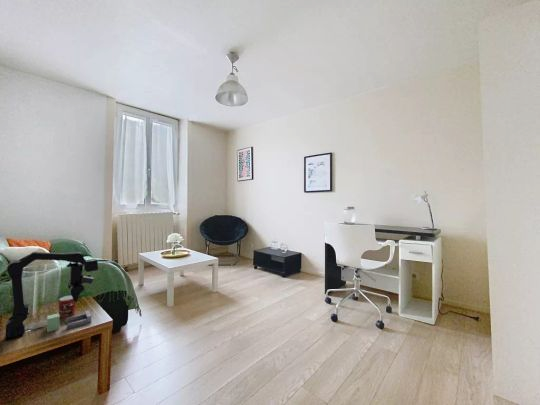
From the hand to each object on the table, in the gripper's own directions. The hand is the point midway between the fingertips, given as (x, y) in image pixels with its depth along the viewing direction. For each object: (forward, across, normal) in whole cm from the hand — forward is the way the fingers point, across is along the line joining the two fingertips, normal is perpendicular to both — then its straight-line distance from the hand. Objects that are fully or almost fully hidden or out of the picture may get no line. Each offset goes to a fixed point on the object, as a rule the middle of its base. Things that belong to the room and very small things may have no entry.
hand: (75, 299), depth 142 cm
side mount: (+13, -3, -1) cm, 14 cm away
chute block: (+13, -2, +9) cm, 16 cm away
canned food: (+13, +13, +2) cm, 19 cm away
